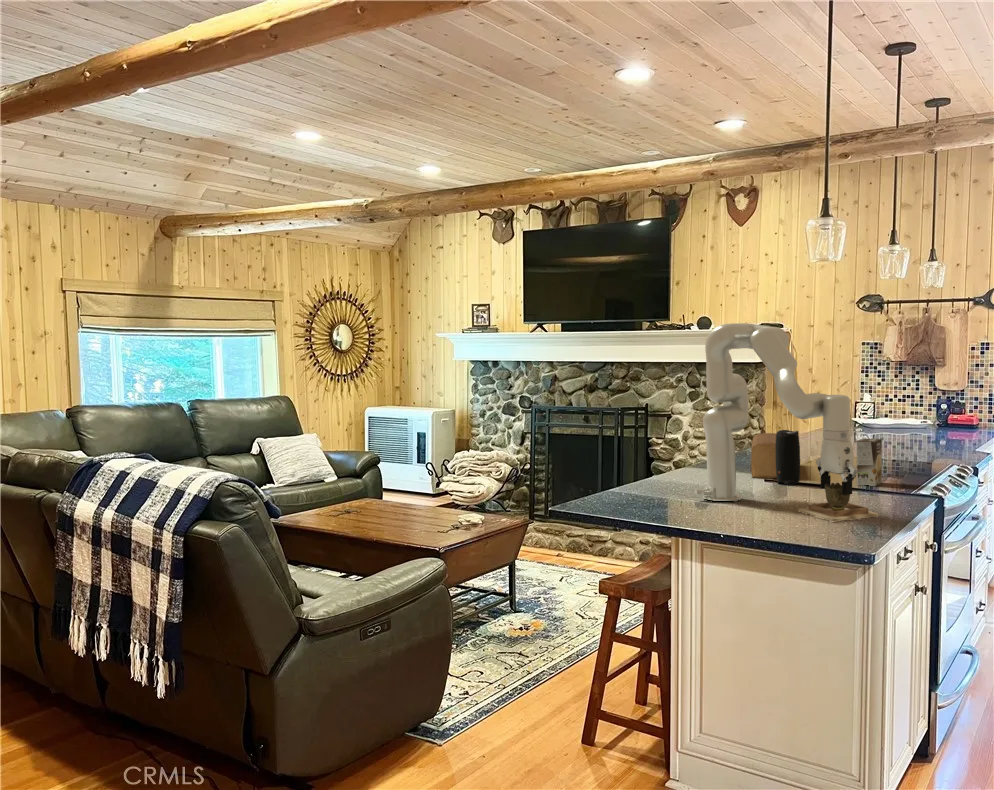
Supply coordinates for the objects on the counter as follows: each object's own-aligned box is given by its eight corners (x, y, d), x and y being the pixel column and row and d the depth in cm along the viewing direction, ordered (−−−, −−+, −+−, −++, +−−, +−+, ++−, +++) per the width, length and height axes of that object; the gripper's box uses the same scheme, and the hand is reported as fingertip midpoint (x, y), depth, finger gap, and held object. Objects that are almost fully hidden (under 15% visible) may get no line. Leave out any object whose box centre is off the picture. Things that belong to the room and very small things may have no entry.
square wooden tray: (833, 522, 237) (832, 513, 237) (798, 511, 252) (798, 504, 252) (878, 517, 241) (878, 508, 241) (842, 507, 257) (842, 499, 257)
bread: (750, 478, 314) (750, 442, 313) (751, 464, 346) (751, 431, 345) (789, 479, 310) (788, 442, 309) (786, 465, 342) (786, 431, 341)
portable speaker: (781, 486, 295) (780, 432, 294) (772, 481, 304) (770, 430, 303) (805, 485, 295) (803, 431, 294) (794, 480, 305) (793, 429, 303)
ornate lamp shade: (835, 514, 243) (835, 488, 242) (819, 509, 250) (819, 484, 249) (856, 512, 245) (856, 485, 244) (839, 507, 252) (839, 481, 251)
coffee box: (875, 486, 287) (875, 441, 286) (856, 485, 291) (856, 440, 290) (882, 482, 294) (882, 438, 293) (863, 481, 298) (863, 437, 297)
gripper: (866, 438, 238) (866, 495, 239) (827, 431, 255) (827, 485, 256) (845, 440, 236) (844, 497, 237) (807, 433, 253) (807, 487, 254)
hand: (836, 491), depth 247 cm, fingers open, 9 cm apart
